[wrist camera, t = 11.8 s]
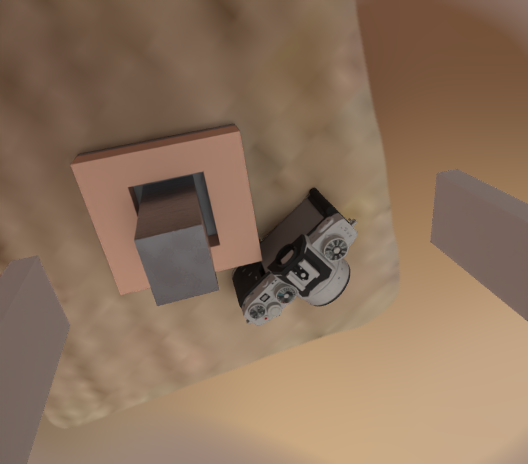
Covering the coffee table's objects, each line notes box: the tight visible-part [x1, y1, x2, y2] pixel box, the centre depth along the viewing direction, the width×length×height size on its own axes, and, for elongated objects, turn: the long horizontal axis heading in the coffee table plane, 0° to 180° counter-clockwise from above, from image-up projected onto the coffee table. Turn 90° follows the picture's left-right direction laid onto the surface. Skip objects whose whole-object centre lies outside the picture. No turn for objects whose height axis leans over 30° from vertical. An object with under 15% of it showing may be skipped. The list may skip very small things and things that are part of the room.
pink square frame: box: [71, 124, 262, 295], centre depth 40 cm, size 14×15×4 cm
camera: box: [232, 188, 357, 326], centre depth 43 cm, size 16×9×10 cm, turn 135°
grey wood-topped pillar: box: [134, 175, 219, 306], centre depth 36 cm, size 6×5×12 cm
